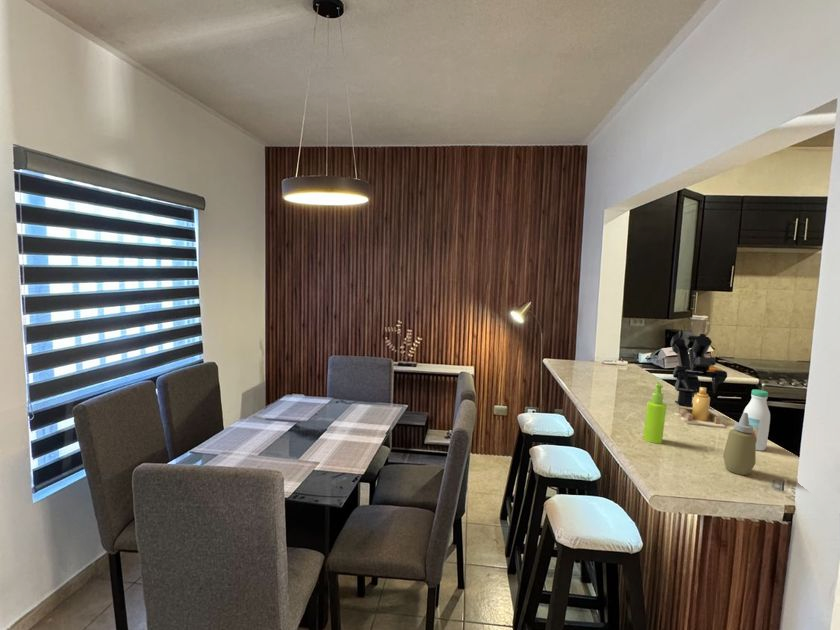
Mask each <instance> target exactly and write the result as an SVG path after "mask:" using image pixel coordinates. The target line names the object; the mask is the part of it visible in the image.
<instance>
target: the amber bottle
mask: <svg viewBox="0 0 840 630" xmlns="http://www.w3.org/2000/svg"><path fill="white" fill-rule="evenodd" d="M707 389H708V388H707V387H705V386H700V388H699V392H697V393H694V394H693V399H692V404H693V407H692V408H691V409H692V415H693V418H692V419H695V420H698V421H707V420H708V412H709V411H710V404H711V403H710V402H711V397H710V396H709V394H708V393H707Z"/></svg>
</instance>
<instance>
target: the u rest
mask: <svg viewBox="0 0 840 630" xmlns="http://www.w3.org/2000/svg"><path fill="white" fill-rule="evenodd" d="M678 409H679V410H678V411H674V415H676V416H677V417H678V418H679V417H680V419H681V421H683V422H684V423H685V422H686V423H685V424H687V425H691V424H694V425H693V426H700V425H703V426H704V427H709V426H712V427H713V428H718V427H720V429H727V426H726V425H725V424H723V423H721V419H722V418H721V417H720V416H718V415H716V413H713V412H712V411H711V410H709V412H708V420H707V421H698V420H695V419H692V418H693V415H692V408H687V407H678ZM703 426H702V427H703ZM712 427H711V428H712Z"/></svg>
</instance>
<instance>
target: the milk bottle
mask: <svg viewBox="0 0 840 630" xmlns="http://www.w3.org/2000/svg"><path fill="white" fill-rule="evenodd" d="M750 396H751V399H750V401H749V402H748V404H747V405H746V406H745V408H744V409H743V413H748V419H749V425H751V426H753V432H752V433H753V434H754V435H755V436H756V451H761V452H762V451H765V450H766V449H767V444H768V437H769V432H770V424H771V411H770V410H769V406H768V403H767V402H768V401H767V400H768V397H769V392H768V391H766V390H762V389H757V388H756V389H752V390H751V395H750Z"/></svg>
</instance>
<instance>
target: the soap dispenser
mask: <svg viewBox="0 0 840 630" xmlns="http://www.w3.org/2000/svg"><path fill="white" fill-rule="evenodd" d="M654 385H655V391H653V392H652V394H651V395H652V396H651V400H650V401H646V412H645V420H644V428H643V437H642V439H643V440H644V441H646V442H648V443H650V444H651V443H652V444H662V443H663V435H664V428H665V427H664V426H665V418H666V413H667V404H666V403H664V401H663V400H664V394H663V392H662V388H663V387H664V386H663V383H660V382H654Z"/></svg>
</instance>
